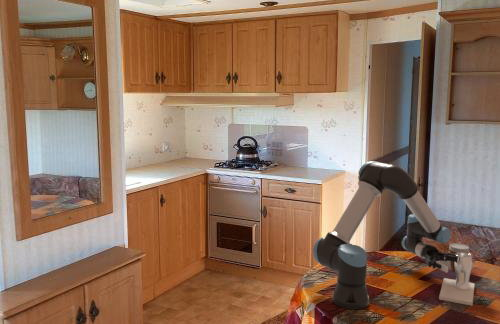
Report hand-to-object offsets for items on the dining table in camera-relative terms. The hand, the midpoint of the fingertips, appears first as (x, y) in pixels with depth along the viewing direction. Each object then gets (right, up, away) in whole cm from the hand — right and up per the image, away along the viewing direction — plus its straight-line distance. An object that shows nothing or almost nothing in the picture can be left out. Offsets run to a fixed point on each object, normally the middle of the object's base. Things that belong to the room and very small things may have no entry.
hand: (460, 267), depth 207 cm
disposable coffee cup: (+12, -8, +30) cm, 33 cm away
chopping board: (0, -11, +2) cm, 12 cm away
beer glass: (+3, -10, +4) cm, 11 cm away
